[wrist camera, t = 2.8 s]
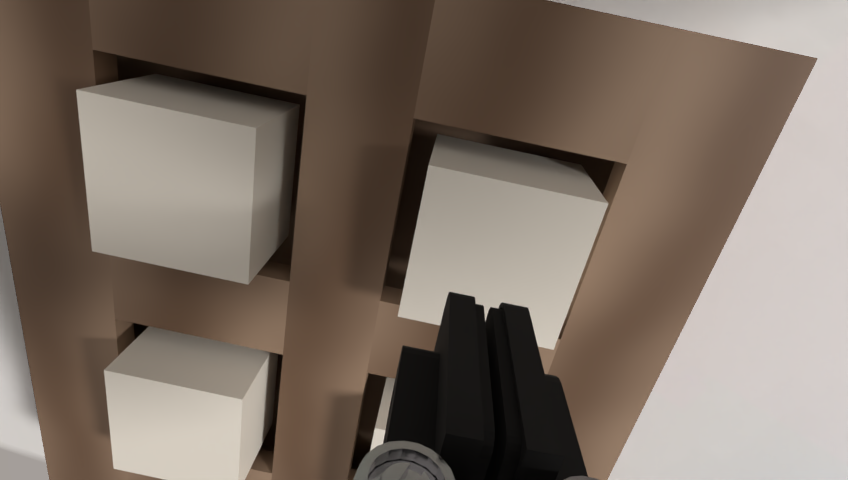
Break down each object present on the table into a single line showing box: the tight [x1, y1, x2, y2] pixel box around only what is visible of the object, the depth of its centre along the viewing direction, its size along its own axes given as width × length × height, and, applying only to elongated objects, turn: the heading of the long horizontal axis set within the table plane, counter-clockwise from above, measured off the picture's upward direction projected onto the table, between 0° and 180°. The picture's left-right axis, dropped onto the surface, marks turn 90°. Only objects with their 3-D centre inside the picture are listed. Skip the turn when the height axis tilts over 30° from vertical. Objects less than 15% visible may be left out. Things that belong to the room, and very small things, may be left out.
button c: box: [76, 74, 300, 284], centre depth 15 cm, size 5×5×4 cm
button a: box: [398, 134, 608, 350], centre depth 15 cm, size 5×5×4 cm
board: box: [0, 0, 818, 480], centre depth 19 cm, size 22×22×4 cm
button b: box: [104, 326, 278, 480], centre depth 19 cm, size 5×5×4 cm
